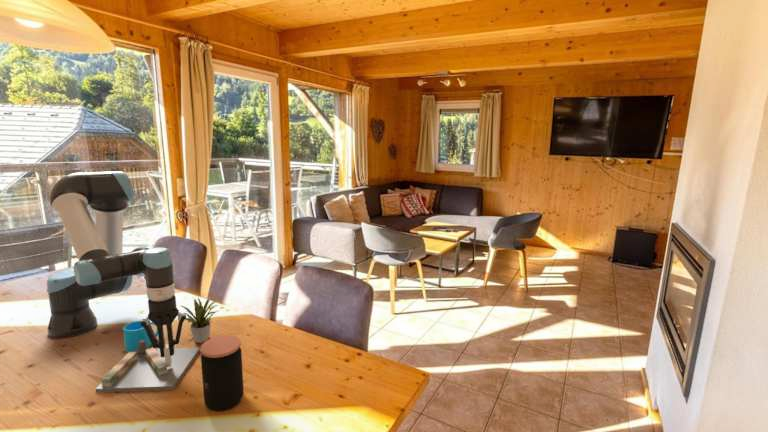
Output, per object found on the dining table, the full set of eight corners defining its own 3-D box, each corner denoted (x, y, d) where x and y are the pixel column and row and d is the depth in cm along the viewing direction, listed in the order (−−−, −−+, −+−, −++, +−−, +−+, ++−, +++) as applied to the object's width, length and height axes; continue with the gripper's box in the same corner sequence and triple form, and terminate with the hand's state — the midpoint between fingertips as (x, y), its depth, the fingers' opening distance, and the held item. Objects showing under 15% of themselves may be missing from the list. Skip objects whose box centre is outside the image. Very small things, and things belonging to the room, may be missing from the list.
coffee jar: (212, 389, 117) (208, 335, 114) (247, 388, 118) (245, 334, 115) (198, 414, 107) (193, 355, 103) (237, 412, 108) (234, 354, 104)
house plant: (233, 335, 149) (230, 296, 146) (203, 352, 137) (200, 310, 134) (206, 327, 155) (204, 289, 152) (176, 343, 143) (172, 302, 139)
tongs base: (137, 350, 135) (136, 338, 134) (152, 350, 136) (151, 338, 135) (102, 386, 115) (100, 373, 115) (119, 386, 116) (117, 372, 115)
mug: (132, 354, 135) (130, 333, 133) (121, 347, 139) (118, 327, 137) (166, 340, 145) (164, 320, 143) (155, 334, 149) (153, 314, 147)
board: (135, 352, 136) (135, 349, 136) (200, 350, 138) (199, 347, 138) (96, 392, 115) (95, 388, 114) (173, 389, 117) (172, 386, 116)
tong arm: (146, 356, 131) (145, 349, 131) (154, 353, 133) (153, 347, 133) (159, 375, 121) (158, 368, 121) (167, 372, 123) (167, 365, 122)
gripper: (135, 304, 115) (143, 375, 119) (184, 298, 120) (190, 366, 124) (139, 295, 121) (147, 362, 126) (185, 289, 126) (191, 354, 131)
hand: (168, 364), depth 125 cm, fingers closed
